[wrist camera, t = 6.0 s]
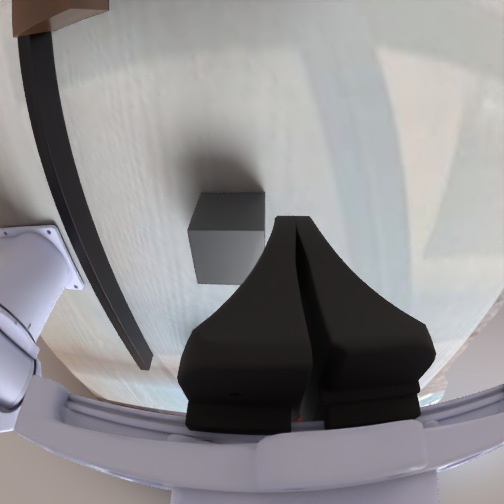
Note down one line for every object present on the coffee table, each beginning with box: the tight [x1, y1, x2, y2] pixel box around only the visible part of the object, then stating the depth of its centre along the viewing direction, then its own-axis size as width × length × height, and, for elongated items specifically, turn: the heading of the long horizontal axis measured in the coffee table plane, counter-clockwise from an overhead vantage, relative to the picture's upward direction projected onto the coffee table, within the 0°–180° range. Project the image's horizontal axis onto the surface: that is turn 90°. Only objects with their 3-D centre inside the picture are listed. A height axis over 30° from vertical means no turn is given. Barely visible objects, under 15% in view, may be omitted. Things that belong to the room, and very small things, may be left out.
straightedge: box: [18, 31, 153, 371], centre depth 21 cm, size 1×40×2 cm, turn 1°
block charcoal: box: [187, 192, 265, 285], centre depth 20 cm, size 4×4×4 cm
